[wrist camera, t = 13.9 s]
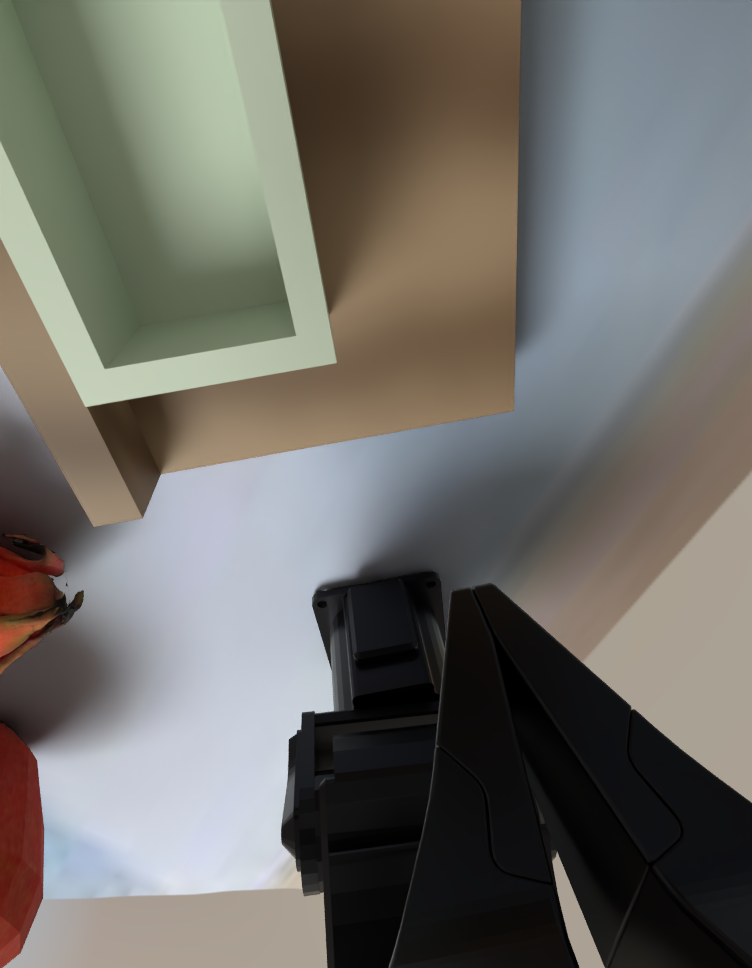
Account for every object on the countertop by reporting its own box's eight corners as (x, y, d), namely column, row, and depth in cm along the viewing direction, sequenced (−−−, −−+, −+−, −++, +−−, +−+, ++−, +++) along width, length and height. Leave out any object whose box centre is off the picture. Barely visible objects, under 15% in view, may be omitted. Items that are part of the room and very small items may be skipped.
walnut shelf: (488, 378, 21) (541, 445, 16) (139, 439, 20) (94, 527, 16) (478, -447, 11) (612, -885, 6) (-219, -349, 10) (-635, -736, 6)
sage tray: (329, 314, 16) (336, 362, 12) (131, 349, 16) (85, 407, 12) (232, -204, 10) (199, -371, 7) (-81, -158, 10) (-273, -306, 7)
